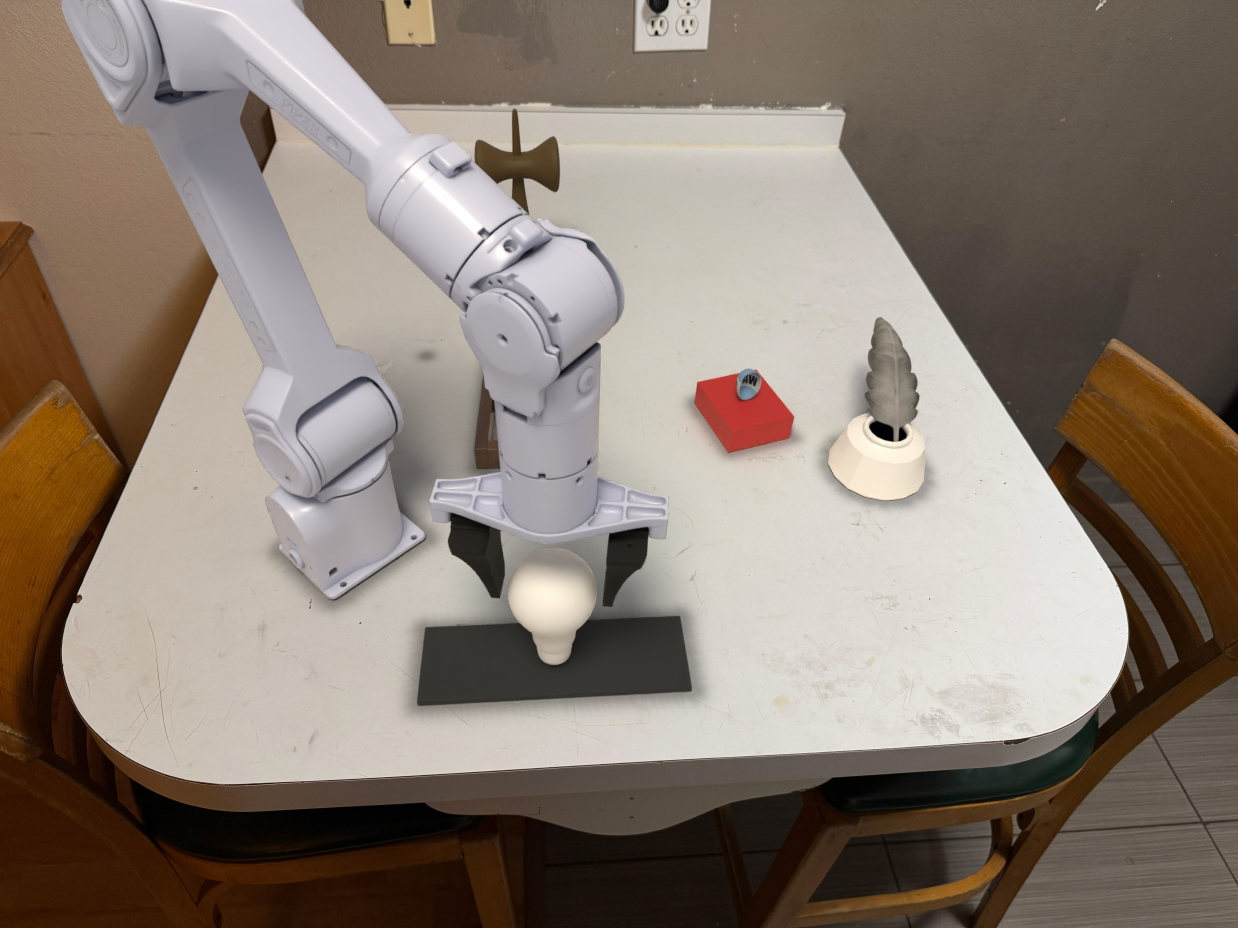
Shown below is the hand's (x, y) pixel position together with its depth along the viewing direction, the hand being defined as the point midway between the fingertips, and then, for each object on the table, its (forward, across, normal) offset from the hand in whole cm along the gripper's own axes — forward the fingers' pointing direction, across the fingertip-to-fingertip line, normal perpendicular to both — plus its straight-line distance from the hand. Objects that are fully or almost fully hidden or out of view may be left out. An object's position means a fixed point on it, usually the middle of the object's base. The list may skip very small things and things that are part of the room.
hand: (553, 590), depth 56 cm
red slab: (+9, -15, -30) cm, 35 cm away
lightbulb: (+8, 0, 0) cm, 8 cm away
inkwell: (+9, -28, -28) cm, 41 cm away
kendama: (+9, +11, -56) cm, 58 cm away
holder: (+9, +6, -29) cm, 31 cm away
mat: (+9, 0, 0) cm, 9 cm away
